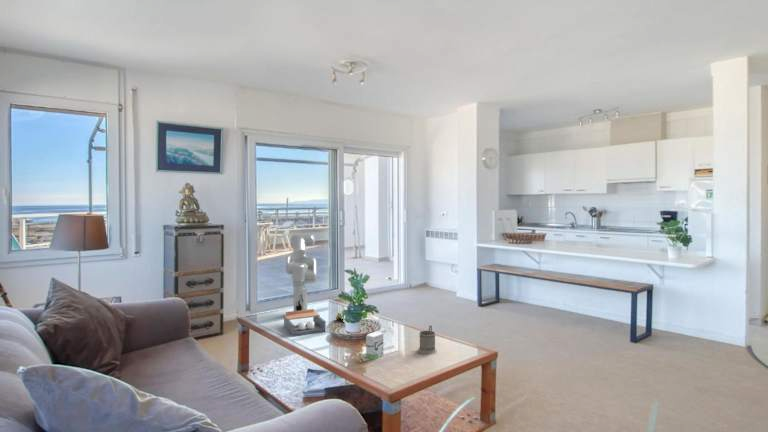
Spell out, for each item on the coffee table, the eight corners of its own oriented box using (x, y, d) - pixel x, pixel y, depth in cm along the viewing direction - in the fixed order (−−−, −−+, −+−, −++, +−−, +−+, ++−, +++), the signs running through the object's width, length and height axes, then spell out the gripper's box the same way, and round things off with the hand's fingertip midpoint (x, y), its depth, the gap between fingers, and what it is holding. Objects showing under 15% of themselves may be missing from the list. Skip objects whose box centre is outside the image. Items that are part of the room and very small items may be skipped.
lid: (283, 316, 269) (283, 312, 268) (315, 312, 277) (315, 308, 277) (287, 320, 260) (287, 315, 259) (319, 316, 268) (319, 312, 268)
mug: (434, 355, 217) (434, 332, 216) (415, 353, 220) (415, 330, 220) (440, 346, 230) (440, 324, 230) (423, 344, 234) (422, 322, 233)
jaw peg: (297, 332, 256) (297, 322, 256) (304, 331, 259) (304, 321, 259) (299, 334, 253) (299, 324, 253) (306, 333, 255) (306, 323, 255)
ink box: (373, 360, 210) (373, 336, 210) (365, 358, 213) (365, 335, 213) (383, 355, 217) (383, 332, 217) (376, 353, 220) (376, 330, 220)
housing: (284, 326, 269) (283, 316, 269) (315, 322, 278) (315, 312, 277) (292, 336, 248) (292, 325, 248) (325, 332, 257) (325, 321, 257)
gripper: (290, 282, 279) (290, 309, 279) (295, 285, 266) (296, 314, 266) (301, 281, 282) (301, 308, 283) (307, 284, 269) (307, 313, 269)
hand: (299, 311), depth 274 cm, fingers closed
